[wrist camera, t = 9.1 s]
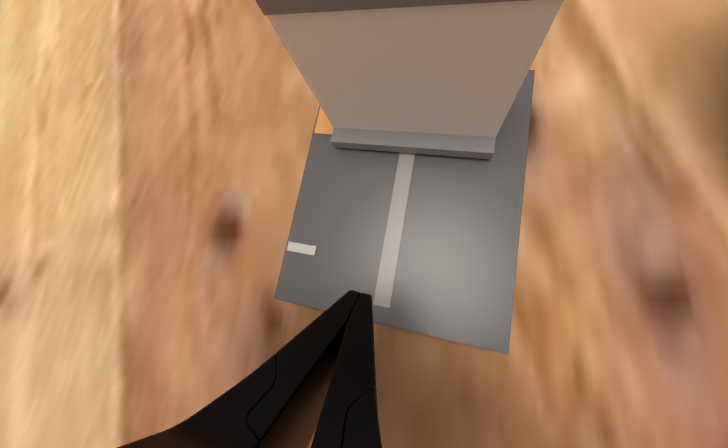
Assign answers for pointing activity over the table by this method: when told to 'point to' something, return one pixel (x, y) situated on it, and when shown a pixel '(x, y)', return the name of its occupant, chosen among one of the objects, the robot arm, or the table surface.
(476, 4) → the fader knob
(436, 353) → the table surface
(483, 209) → the fader console
